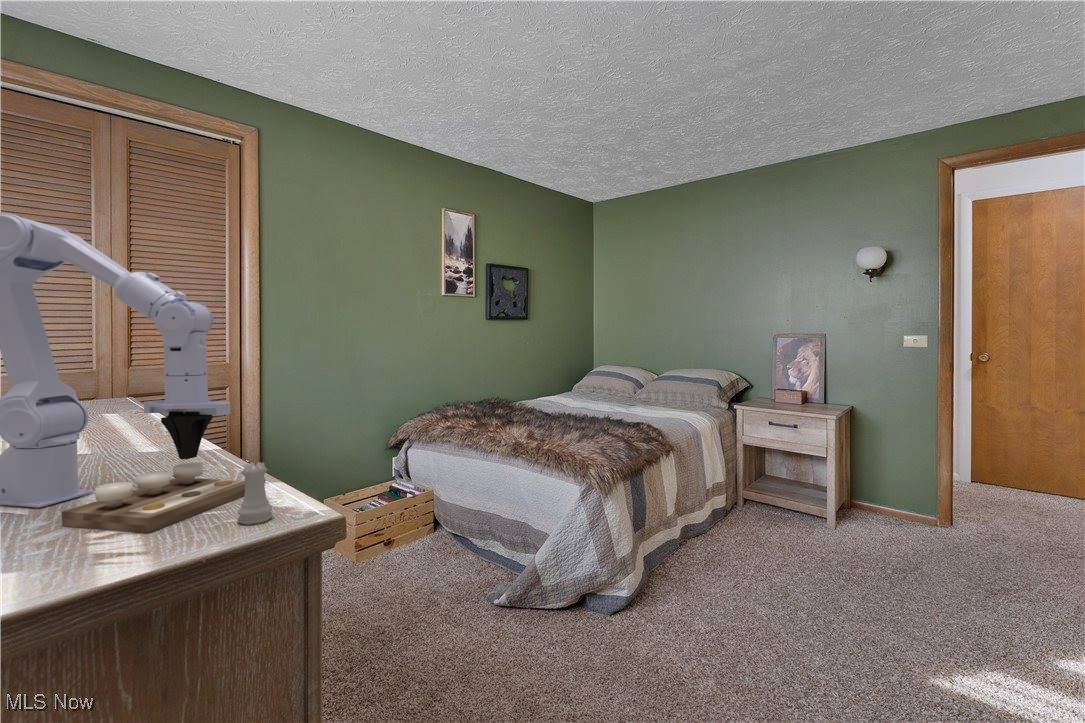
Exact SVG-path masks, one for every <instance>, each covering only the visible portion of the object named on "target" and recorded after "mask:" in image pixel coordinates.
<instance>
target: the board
mask: <svg viewBox="0 0 1085 723" xmlns="http://www.w3.org/2000/svg"><path fill="white" fill-rule="evenodd" d="M244 481H245V480H233V479H214V478H199V477H198V478H196V477H195V482H193V483H189V484H182V478H174V477H173V478H170V484H169V485H166V486H163V487H162V492H161V493H159V494H153V495H148V494H147V489H139V488H136V489H133V495H132V496H130V497H127V498H124V499H123V505H121V506H117V507H106V501H96V500H95V501H93V502H90V503H89V502H88V503H86V504H83V505H79V506H76V507H73V508H69V509H66V510H62V511H61V526H62V527H71V528H82V529H96V530H107V531H120V532H128V533H129V532H133V533H144V534H151V533H153V532H156V531H159V530H160V529H161V530H162V529H163V528H166V527H168V526H172V525H174V524H176V523H179V522H181V521H183V520H186V519H189V518H191V517H194V516H196V515H199V514H201V513H204V512H207V511H209V510H212V509H215V508H217V507H220V506H222V505H225V504H227V503H230V502H232V501H235V500H237V499H239V498H242V497H243V498H244V494H245V484H244Z"/></svg>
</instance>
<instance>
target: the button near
mask: <svg viewBox="0 0 1085 723" xmlns="http://www.w3.org/2000/svg"><path fill="white" fill-rule="evenodd" d="M133 490H134V489H133V482H131V481H116V482H110V483H104V484H101V485H97V486H96V487H94V493H95V494H94V495H95V497H94V498H95V499H94V500H95V502H96V501H106V507H117V506H121V505H123V499H124V498H127V497H130V496H132V495H133Z"/></svg>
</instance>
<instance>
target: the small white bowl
mask: <svg viewBox="0 0 1085 723" xmlns="http://www.w3.org/2000/svg"><path fill="white" fill-rule="evenodd" d="M203 474H204V463H202V462H184V463H180V464H176V465H174V466H172V478H173V479H174V478H182V484H189V483H193V482H195V478H196V477H199V476H202V475H203Z"/></svg>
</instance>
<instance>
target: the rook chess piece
mask: <svg viewBox="0 0 1085 723" xmlns="http://www.w3.org/2000/svg"><path fill="white" fill-rule="evenodd" d="M265 465H266V464H265V462H260V461H259V462H257V464H256V465H255V462H250V463H245V464H244V466H243V467H244V468H243V469H242V471H241V472H240V473H241V475H243V476H244V480H243V481H244V484H245V494H244V496H243V501H242V503H241V505H240V508H239V509H238V510H237V515H239V517H237V519H236V521H238V523H239V524H241V525H244V526H253V525H259V524H263V522H264V523H266V522H268V521H270V520H271V518H272V517H273V515H274V513H272V512H271V511H272V510H273V505H272V504H270V503H269V501H270V500H268V498H267V493H266V489H265V488H266V487H265V486H266V484H265V482H267V479H265V475H266V473H267V472H268V468H267V467H266V466H265ZM269 519H270V520H269Z"/></svg>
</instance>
